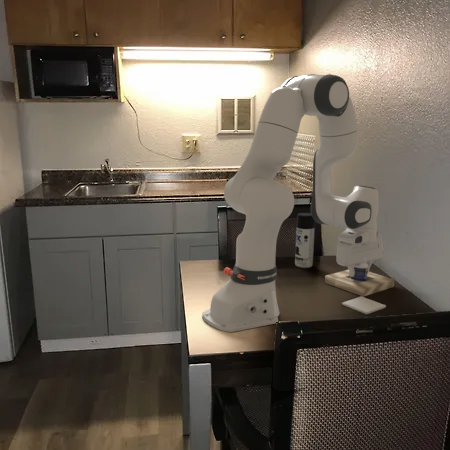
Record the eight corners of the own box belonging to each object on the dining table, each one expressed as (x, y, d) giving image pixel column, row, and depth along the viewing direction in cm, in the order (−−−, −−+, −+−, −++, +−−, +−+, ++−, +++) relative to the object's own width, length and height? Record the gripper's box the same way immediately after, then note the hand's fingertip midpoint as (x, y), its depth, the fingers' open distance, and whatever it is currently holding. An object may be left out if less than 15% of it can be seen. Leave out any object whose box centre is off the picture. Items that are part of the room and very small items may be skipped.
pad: (366, 314, 135) (366, 312, 135) (342, 304, 142) (342, 302, 142) (385, 307, 140) (386, 305, 140) (361, 298, 147) (361, 296, 147)
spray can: (291, 263, 182) (293, 212, 178) (307, 262, 184) (310, 212, 180) (299, 268, 176) (301, 216, 172) (315, 267, 178) (318, 215, 174)
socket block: (363, 296, 149) (363, 289, 148) (324, 282, 161) (325, 275, 161) (393, 286, 158) (394, 279, 157) (355, 274, 170) (355, 267, 170)
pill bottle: (366, 287, 156) (369, 259, 154) (350, 286, 157) (353, 257, 155) (365, 283, 161) (368, 255, 159) (349, 281, 162) (352, 253, 161)
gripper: (374, 228, 164) (370, 266, 167) (334, 236, 152) (331, 277, 155) (389, 232, 159) (386, 271, 162) (349, 240, 147) (346, 282, 150)
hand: (359, 274), depth 159 cm, fingers closed on pill bottle, 5 cm apart
